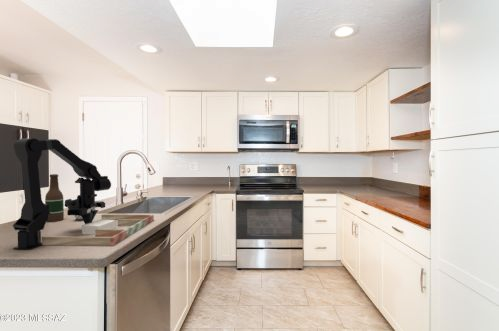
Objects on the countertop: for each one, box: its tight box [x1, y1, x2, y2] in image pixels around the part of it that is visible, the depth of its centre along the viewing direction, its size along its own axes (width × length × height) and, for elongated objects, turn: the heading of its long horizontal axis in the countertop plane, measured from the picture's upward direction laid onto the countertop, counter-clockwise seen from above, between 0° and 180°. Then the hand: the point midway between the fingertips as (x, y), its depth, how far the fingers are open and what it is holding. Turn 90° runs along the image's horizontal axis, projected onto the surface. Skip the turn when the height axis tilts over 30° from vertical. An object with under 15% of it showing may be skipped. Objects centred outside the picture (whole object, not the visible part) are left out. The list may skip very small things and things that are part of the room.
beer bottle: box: [44, 173, 65, 223], centre depth 138 cm, size 8×8×24 cm
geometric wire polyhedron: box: [73, 215, 83, 221], centre depth 140 cm, size 9×8×10 cm
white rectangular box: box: [81, 219, 117, 236], centre depth 119 cm, size 11×8×4 cm
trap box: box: [41, 213, 155, 247], centre depth 120 cm, size 40×27×3 cm
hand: (87, 226), depth 120 cm, fingers closed
